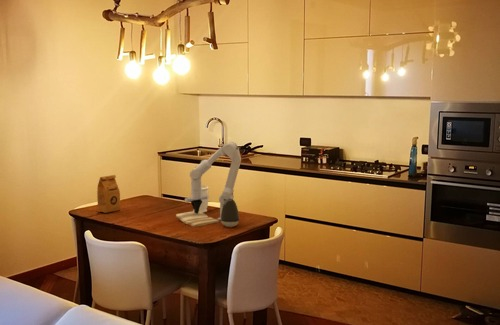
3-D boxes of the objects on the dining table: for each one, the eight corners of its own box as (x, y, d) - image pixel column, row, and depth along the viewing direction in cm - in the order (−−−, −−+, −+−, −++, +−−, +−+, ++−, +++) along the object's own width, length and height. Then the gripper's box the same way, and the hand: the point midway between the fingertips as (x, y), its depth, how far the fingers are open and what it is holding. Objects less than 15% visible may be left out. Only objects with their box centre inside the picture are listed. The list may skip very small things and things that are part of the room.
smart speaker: (231, 222, 291) (231, 195, 289) (243, 226, 283) (243, 199, 281) (216, 225, 285) (216, 198, 283) (227, 229, 277) (227, 201, 275)
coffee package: (123, 211, 317) (121, 175, 314) (105, 214, 308) (103, 177, 304) (113, 208, 323) (112, 173, 320) (95, 211, 314) (94, 175, 311)
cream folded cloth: (208, 218, 299) (208, 216, 299) (184, 223, 289) (184, 221, 289) (199, 211, 306) (199, 210, 305) (175, 216, 295) (176, 214, 295)
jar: (200, 214, 310) (200, 189, 308) (188, 211, 316) (187, 187, 314) (212, 210, 318) (212, 186, 316) (199, 208, 325) (199, 184, 322)
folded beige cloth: (218, 222, 292) (218, 220, 291) (195, 226, 281) (195, 224, 281) (209, 219, 298) (209, 217, 298) (185, 223, 288) (185, 221, 288)
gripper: (202, 187, 306) (202, 209, 308) (181, 190, 297) (181, 213, 299) (209, 188, 301) (209, 211, 303) (188, 192, 292) (188, 215, 294)
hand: (196, 212), depth 301 cm, fingers closed, pressing on cream folded cloth
